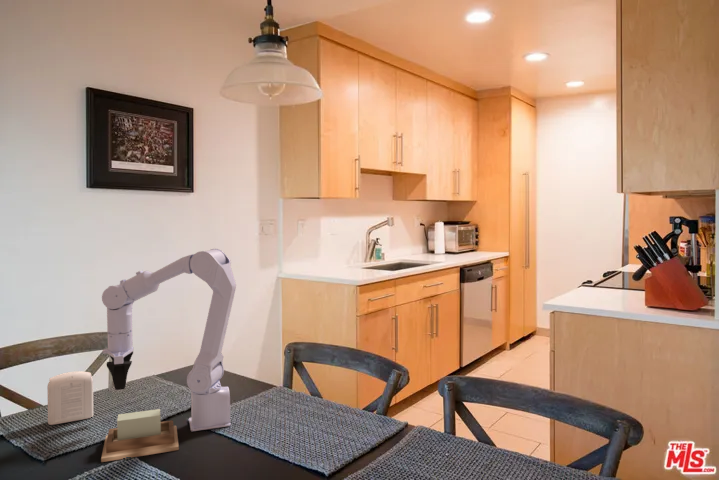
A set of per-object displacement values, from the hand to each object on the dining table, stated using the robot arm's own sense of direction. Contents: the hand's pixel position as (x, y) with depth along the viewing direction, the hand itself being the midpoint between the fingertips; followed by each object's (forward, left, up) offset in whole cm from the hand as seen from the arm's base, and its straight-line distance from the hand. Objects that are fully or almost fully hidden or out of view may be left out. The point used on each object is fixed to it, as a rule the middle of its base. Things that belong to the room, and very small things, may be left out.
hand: (121, 384), depth 131 cm
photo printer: (+12, -5, -10) cm, 16 cm away
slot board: (-5, +16, -9) cm, 19 cm away
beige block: (-5, +16, -9) cm, 19 cm away
